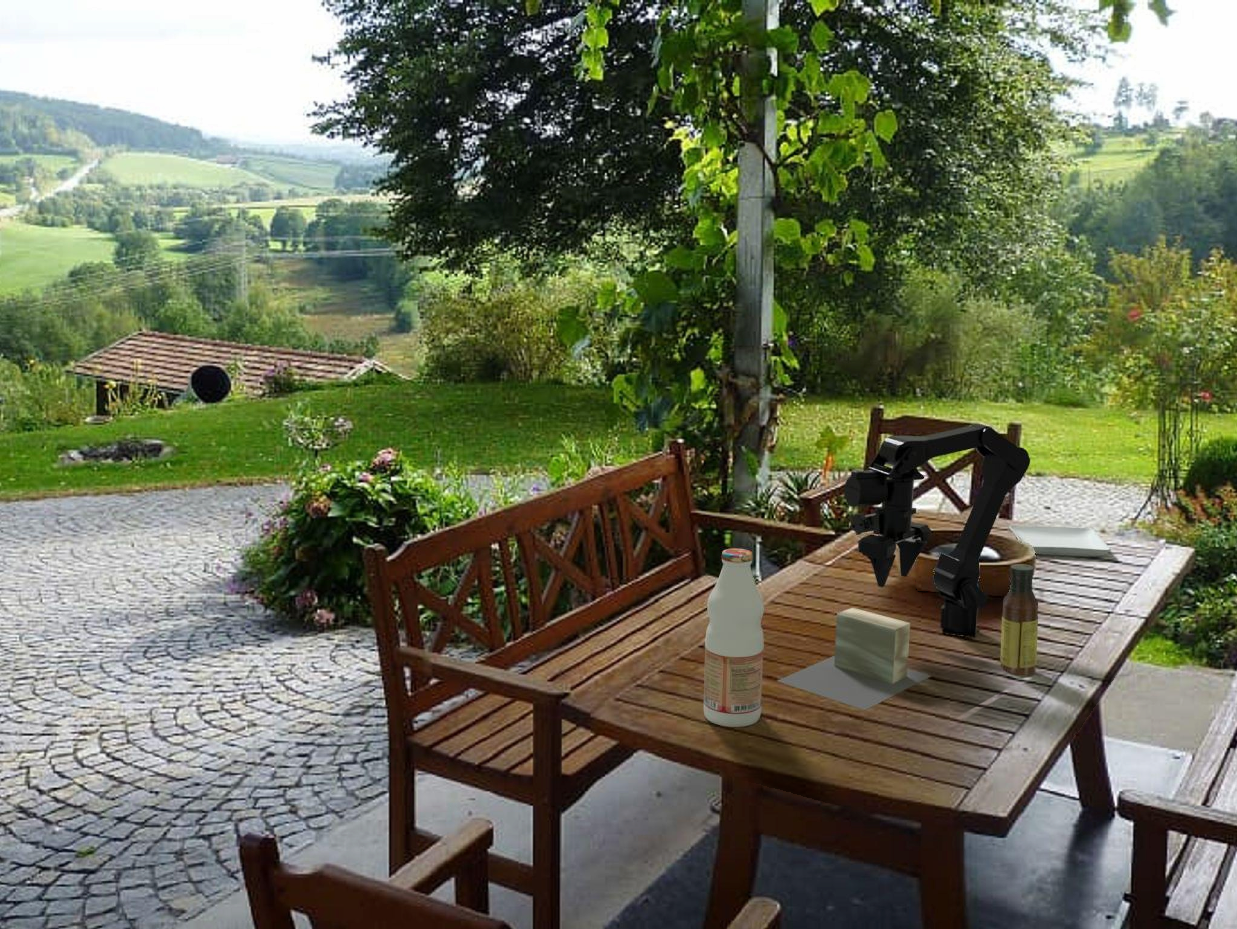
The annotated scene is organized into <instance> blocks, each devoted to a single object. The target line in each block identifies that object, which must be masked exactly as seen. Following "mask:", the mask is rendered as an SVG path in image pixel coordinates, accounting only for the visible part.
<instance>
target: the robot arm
mask: <svg viewBox="0 0 1237 929" xmlns="http://www.w3.org/2000/svg"><path fill="white" fill-rule="evenodd" d="M972 449H975V450H976V452H977V453H978V454H979V455H981V457H983V462H982V466H981V471H982V485H981V487H980V490H979V491H978V494H977V496H976V498H975V501H974V503H973V505H972V508H971V511H970V513H969V514H968V518H967V520H966V522H965V525H964V527H963V529H962V532H961V534H960V536H959V538H958V541H957V544H956V545H955V547H954V549H953V550H951V552H949V553H948V554H946V553H944V552H942V553H940V554H939V555H940V556H939V559H938V563H937V565H936V567H935V568H934V569H933V572H935V573H934V576H933V581H934V584H935V586H936V588H937V589H938V592H939V593H938V595H939V598H943V599H944V600H945V601H944V604H943V605H942V606H941V611H940V612H941V613H940V614H941V615H940V628H941V629H942V630H941V633H942V634H943V633H948V634H947V635H949V634H955V635H954V636H957V635H963V636H962V637H966V636H969V637H968V638H976V637H977V632H978V624H977V623H978V612H979V609H980V608H984V607H986V604H987V601H988V599H989V596H987V595H986V594H985V593H984V592H983V591H982V590H981V589H980V588H979V586H978V581H979V578H980V565H979V558H980V557H981V554H982V552H983V550H984V548H985V546H986V543H987V541H988V538H989V537H990V534H991V532H992V529H993V527H994V524H995V522H996V521H997V518H998V516H999V513H1000V511H1001V508H1002V506H1003V504H1004V502H1005V499H1006V497H1007V494H1008V493H1009V491H1011V490H1012V489H1013V488H1014V487H1015V486H1017V484H1019V483H1020V482H1021V481H1022V479H1023V477H1025V475H1026V472H1028V469H1029V467H1030V464H1031V458H1030V456H1029V452H1028V451H1027V450H1026V449H1025V448H1024V447H1021V446H1017V445H1016V444H1015V443H1013V442H1012V441H1011V440H1009V439H1007V438H1006V437H1004V436H1002V435H1001V434H1000V433H998V432H997V431H996V429H994V428H993V427H992V426H990V425H989V426H988V425H985V424H982V423H981V424H980V423H973V424H970V425H967V426H964V427H963V426H962V427H958V428H955V429H954V428H953V429H950V430H945V431H941V432H937V433H932V434H927V435H923V436H922V435H921V436H920V435H919V436H917V435H915V436H914V435H889V436H886V437H885V438H884V439H883V442H882V443H881V445H880V448H879V450H878V451H877V453H876V454H875V455H874V457H873V458H872V460H871V461H870V463H869V464H868V466H867V468H866V469H867V470H858V469H853V470H851V472H850V476H849V477H848V478H847V479H846V482H845V485H844V486H843V496H844V499H845V501H846V504H848V506H849V507H850V508H851V507H852V508H857V507H858V508H859V507H869V506H870V507H871V506H878V507H877V508H876V509H875V513H870V514H864V513H863V512H860V513H856V514H853V515H851V519H850V524H849V528H850V529H851V530H852V531H853V532H855V535H856V536H859V535H862V534H864V533H865V534H866V533H870V532H872V534H869V535H867V536H864V537H861V539H859V540H858V541H857V552H858V553H860V554H861V555H862V556H863V557H866V558H867V559H869V561H870V563H871V566H872V570H873V573H874V576H875V580H876V583H877V586H878V587H879V588H884V587H885V585H886V583H887V580H888V579H889V575H890V572H891V570H892V568H893V564H894V562H895V559H896V557H897V555H896V554H895V553H896V550H897V547H898V551H899V552H898V553H899V569H900V570H899V571H900V576H901V577H903V578H907V577H908V575H909V574H910V571H911V570H912V569H913V564H914V563H915V561H916V559H917V557H918V556H919V554H921V552H922V551H923V549H924V548H925V546H926V545H927V543H928V541H929V540H930V539H931V536H932V535H931V534H932V530H931V528H930V526H928V524H927V523H922V522H921V523H920V522H915V521H912V518H913V515H915V514H917V508H916V507H913V504H914V503H913V502H914V484H915V481H920V480H921V481H922V480H924V479H925V476H924V475H923V474H922V473H921V472H920V471H919V470H918V468H919V467H922V466H924V465H926V464H927V463H928V462H929V461H930V460H932V459H934V458H937V457H941V456H946V455H950V454H956V453H959V452H963V451H967V450H968V451H969V450H972ZM889 466H890V467H889Z"/></svg>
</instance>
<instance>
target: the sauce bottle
mask: <svg viewBox="0 0 1237 929" xmlns="http://www.w3.org/2000/svg"><path fill="white" fill-rule="evenodd" d="M1009 574H1010V582H1011V585H1010V590H1009V592H1008V593H1007V595H1006V596H1005V597H1003V600H1002V615H1001V633H1000V634H1001V635H1000V659H999V660H1000V668H1001V669H1002V670H1003V671H1004V672H1007V673H1010V674H1013V675H1014V674H1015V675H1020V676H1023V675H1024V676H1025V675H1026V676H1028V677H1029V676H1032V675H1034V674H1035V672H1036V665H1037V657H1038V655H1037V654H1038V652H1037V651H1038V634H1039V632H1038V631H1039V628H1038V627H1039V614H1038V613H1039V612H1038V611H1039V610H1038V609H1039V602H1038V600H1037V598H1036V595H1035V593H1034V592H1033V590H1034V589H1033V578H1034V577H1033V576H1034V574H1035V568H1034V567H1033V566H1032V565H1030V564H1025V563H1024V564H1023V563H1017V564H1016V563H1015V564H1014V563H1013V564H1012V565H1010V568H1009Z"/></svg>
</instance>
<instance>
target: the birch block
mask: <svg viewBox="0 0 1237 929" xmlns="http://www.w3.org/2000/svg"><path fill="white" fill-rule="evenodd" d="M835 627H836V628H835V646H834V656H835V662H834V666H836V667H839V668H842V669H845V670H848V671H852V672H855V673H858V674H861V675H865V676H868V677H871V678H874V679H878V680H881V681H884V682H887V683H890V684H893V683H895V682H897V681H899V680H901V679H903V678H905V677H907V668H908V665H909V664H908V663H909V650H910V648H909V647H910V635H911V634H910V632H911V622H907V621H903V620H901V619H898V618H897V619H896V618H893V617H889V616H885V615H881V614H877V613H875V612H870V611H867V610H861V609H860V608H859V609H858V608H855V607H851V608H848V609H845V610H843V611H840V612H838V613H836V626H835Z"/></svg>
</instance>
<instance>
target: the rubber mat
mask: <svg viewBox="0 0 1237 929" xmlns="http://www.w3.org/2000/svg"><path fill="white" fill-rule="evenodd" d="M834 662H835V655H833V656H831V657H828V658H826V659H823V660H821V661H819V662H816V663H815V664H811V665H810V666H807V667H806V668H803V669H801V670H798V671H796V672H793V673H792V674H790V675H789V674H788V675H787V676H785V677H782V678H780V679H778V680H776V682H778V683H781V684H784V685H786V686H790V687H792V688H796V689H797V690H798V689H799V690H801V691H805V692H807V693H808V692H809V693H811V694H814V695H817V696H820V697H823V698H825V699H829V700H832V701H835V702H838V703H840V704H844V705H847V706H850V707H853V708H856V709H859V710H862V711H867V710H869V709H871V708H873V707H875V706H877V705H879V704H881V703H882V702H884V701H886V700H888V699H890V698H893V697H894V696H896V695H897V694H900V693H902V692H904V691H906V690H908V689H909V688H911V687H913V686H916V685H918V684H919V683H921V682H923V681H925V680H926V679H928V678H931V677H932V675H931V674H928V673H925V672H921V671H917V670H914V669H911V668H908V667H907V677H905V678H903V679H901V680H899V681H897V682H895V683H893V684H890V683H887V682H884V681H881V680H878V679H874V678H871V677H868V676H865V675H861V674H858V673H855V672H852V671H848V670H845V669H842V668H839V667H836V666H834Z"/></svg>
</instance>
